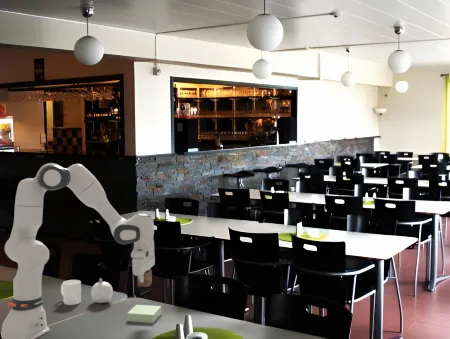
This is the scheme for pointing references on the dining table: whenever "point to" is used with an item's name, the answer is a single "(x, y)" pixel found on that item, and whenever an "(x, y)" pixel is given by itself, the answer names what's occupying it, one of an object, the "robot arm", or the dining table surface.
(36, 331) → the robot arm
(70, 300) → the cup
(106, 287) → the ornament
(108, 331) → the dining table surface
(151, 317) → the base box
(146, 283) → the walnut block
